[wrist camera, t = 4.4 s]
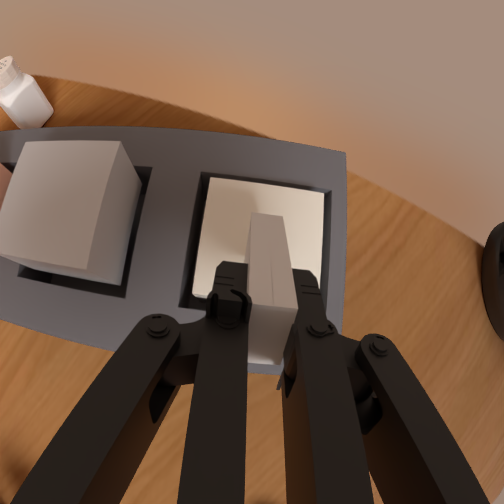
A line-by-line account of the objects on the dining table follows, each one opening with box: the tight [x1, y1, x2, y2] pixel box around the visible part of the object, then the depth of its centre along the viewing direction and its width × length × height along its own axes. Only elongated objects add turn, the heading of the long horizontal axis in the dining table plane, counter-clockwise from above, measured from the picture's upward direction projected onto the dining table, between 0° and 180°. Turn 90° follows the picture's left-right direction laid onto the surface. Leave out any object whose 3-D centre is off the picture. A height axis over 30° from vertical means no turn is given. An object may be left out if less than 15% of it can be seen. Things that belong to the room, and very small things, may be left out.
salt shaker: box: [0, 56, 54, 129], centre depth 22 cm, size 4×4×10 cm
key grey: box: [0, 140, 142, 286], centre depth 15 cm, size 6×6×5 cm
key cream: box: [192, 177, 324, 303], centre depth 19 cm, size 6×6×5 cm
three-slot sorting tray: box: [0, 126, 347, 375], centre depth 20 cm, size 32×14×8 cm, turn 84°
